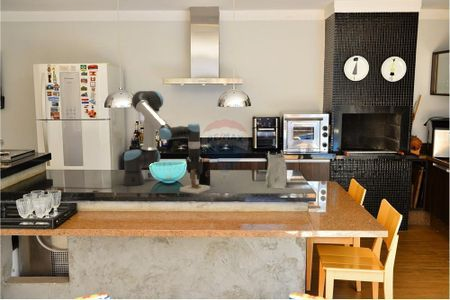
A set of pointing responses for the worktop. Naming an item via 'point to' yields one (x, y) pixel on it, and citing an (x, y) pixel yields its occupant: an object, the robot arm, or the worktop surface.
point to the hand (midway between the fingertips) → (195, 183)
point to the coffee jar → (205, 173)
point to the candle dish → (194, 189)
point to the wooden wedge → (193, 179)
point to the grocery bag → (276, 171)
